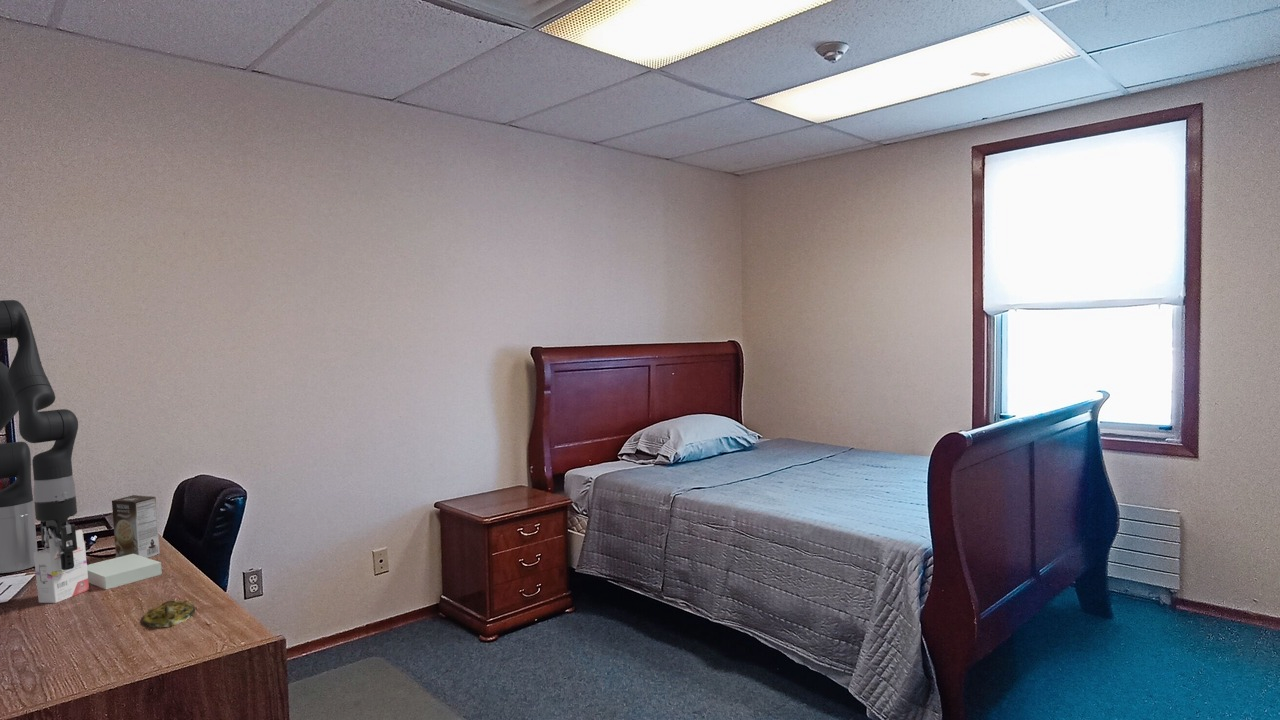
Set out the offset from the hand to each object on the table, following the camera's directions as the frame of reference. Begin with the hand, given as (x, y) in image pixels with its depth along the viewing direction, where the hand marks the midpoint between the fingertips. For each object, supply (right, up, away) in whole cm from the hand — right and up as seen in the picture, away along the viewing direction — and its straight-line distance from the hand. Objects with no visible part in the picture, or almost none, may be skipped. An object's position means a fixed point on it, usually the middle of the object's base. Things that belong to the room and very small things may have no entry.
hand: (61, 566), depth 171 cm
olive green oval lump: (+35, -7, -15) cm, 38 cm away
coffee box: (-3, -6, +31) cm, 32 cm away
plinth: (+4, -6, +13) cm, 15 cm away
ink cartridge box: (0, -7, +1) cm, 7 cm away
